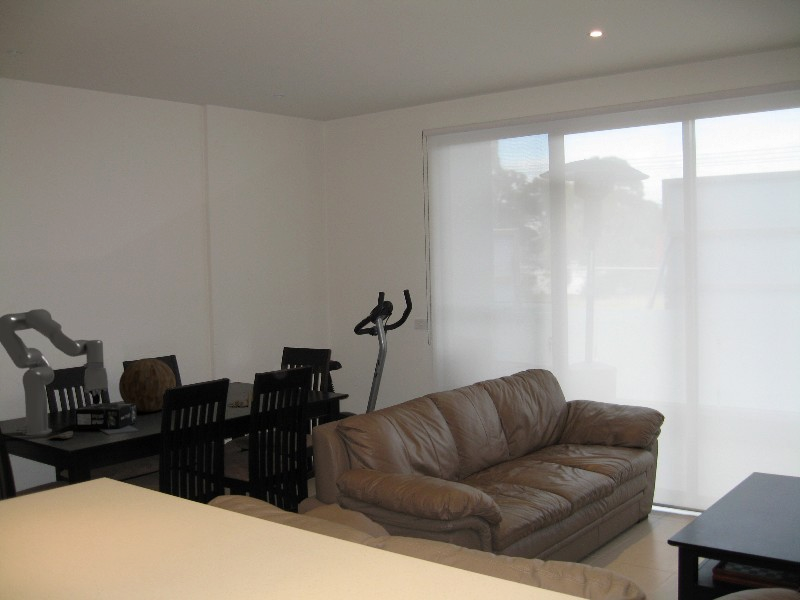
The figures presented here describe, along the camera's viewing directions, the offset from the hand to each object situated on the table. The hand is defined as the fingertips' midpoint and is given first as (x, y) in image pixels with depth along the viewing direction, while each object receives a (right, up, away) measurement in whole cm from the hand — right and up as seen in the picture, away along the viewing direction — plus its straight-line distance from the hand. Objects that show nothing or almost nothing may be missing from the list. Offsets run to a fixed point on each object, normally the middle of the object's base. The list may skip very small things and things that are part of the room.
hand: (96, 403), depth 379 cm
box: (-1, -8, +3) cm, 9 cm away
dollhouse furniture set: (+58, -11, +67) cm, 90 cm away
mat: (+8, -13, +5) cm, 16 cm away
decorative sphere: (+8, -12, +55) cm, 57 cm away
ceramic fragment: (-5, -14, -15) cm, 21 cm away
